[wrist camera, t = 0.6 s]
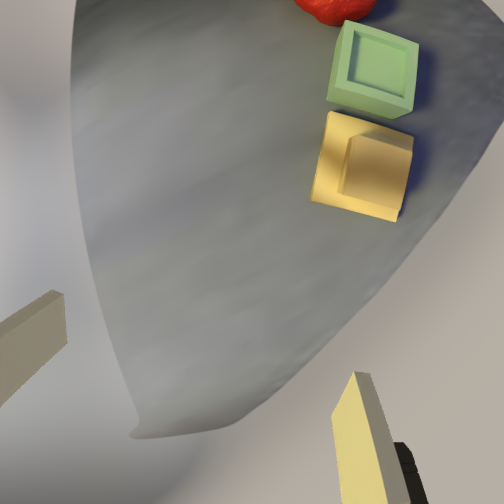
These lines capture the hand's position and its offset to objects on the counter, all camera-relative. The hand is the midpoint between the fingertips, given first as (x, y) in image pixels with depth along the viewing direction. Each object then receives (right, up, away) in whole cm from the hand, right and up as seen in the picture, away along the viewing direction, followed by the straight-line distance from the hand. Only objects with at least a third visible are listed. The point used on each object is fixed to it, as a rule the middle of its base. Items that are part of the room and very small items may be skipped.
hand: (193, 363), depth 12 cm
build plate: (+15, +14, +20) cm, 29 cm away
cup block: (+15, +24, +18) cm, 34 cm away
